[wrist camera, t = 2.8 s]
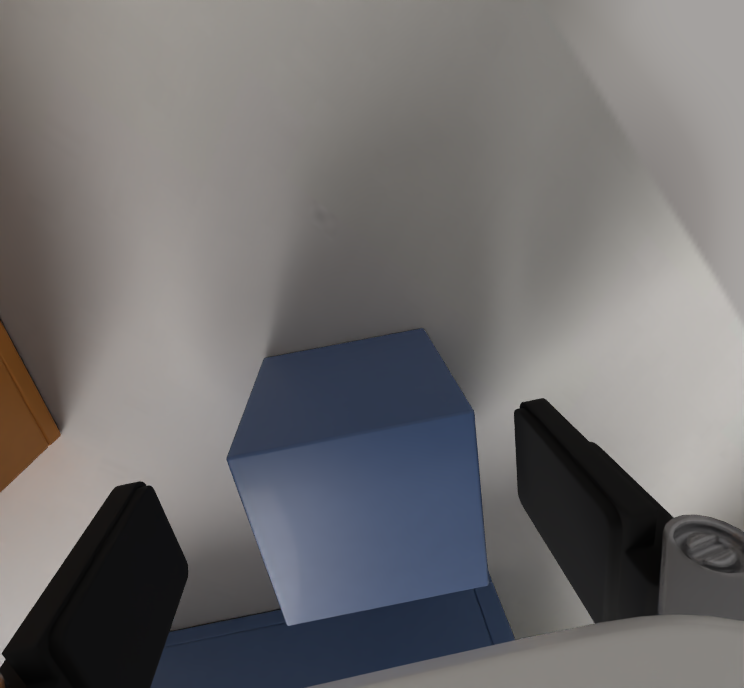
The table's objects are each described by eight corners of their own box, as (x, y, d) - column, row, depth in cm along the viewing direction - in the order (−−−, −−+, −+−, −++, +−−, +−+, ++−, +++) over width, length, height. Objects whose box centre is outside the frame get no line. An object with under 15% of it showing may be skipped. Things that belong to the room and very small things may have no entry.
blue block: (423, 327, 13) (475, 410, 8) (440, 458, 15) (490, 586, 10) (263, 357, 13) (225, 458, 8) (300, 486, 15) (286, 627, 10)
